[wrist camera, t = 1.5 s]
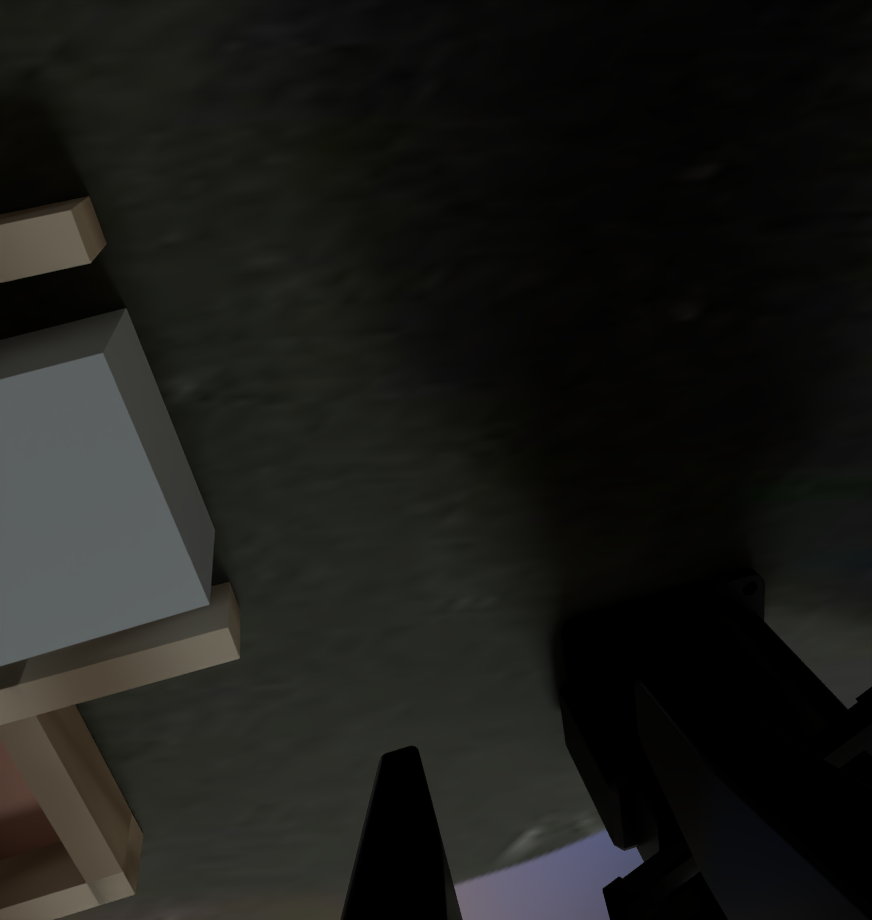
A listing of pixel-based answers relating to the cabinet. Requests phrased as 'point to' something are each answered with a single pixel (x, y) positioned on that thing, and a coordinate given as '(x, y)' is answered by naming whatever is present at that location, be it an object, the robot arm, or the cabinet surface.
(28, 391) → the block
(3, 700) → the box
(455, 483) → the cabinet surface
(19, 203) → the cabinet surface
